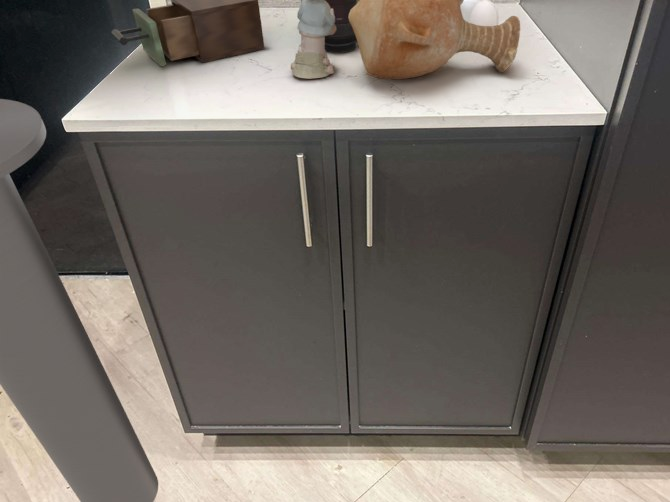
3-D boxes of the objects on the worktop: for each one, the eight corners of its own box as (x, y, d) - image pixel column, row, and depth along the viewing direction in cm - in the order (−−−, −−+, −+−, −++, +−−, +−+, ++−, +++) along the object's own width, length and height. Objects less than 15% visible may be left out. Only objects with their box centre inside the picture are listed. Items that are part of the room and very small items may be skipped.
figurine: (332, 82, 104) (325, -41, 91) (287, 80, 105) (273, -42, 92) (341, 64, 110) (335, -53, 98) (299, 63, 111) (287, -53, 99)
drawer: (131, 72, 107) (118, 29, 102) (115, 55, 114) (103, 14, 109) (221, 52, 114) (214, 11, 109) (201, 38, 122) (193, -2, 117)
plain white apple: (476, 28, 126) (480, -12, 121) (446, 24, 128) (448, -15, 123) (485, 19, 131) (489, -19, 126) (456, 16, 133) (459, -22, 128)
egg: (462, 36, 122) (465, -2, 117) (486, 32, 123) (490, -6, 119) (476, 45, 117) (480, 5, 112) (502, 41, 119) (506, 2, 114)
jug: (341, -11, 108) (492, 0, 113) (341, 91, 109) (491, 97, 114) (356, -69, 88) (538, -53, 93) (357, 55, 89) (536, 65, 94)
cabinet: (202, 63, 113) (191, 11, 106) (181, 45, 121) (170, -4, 115) (264, 49, 118) (258, -1, 112) (240, 33, 126) (233, -14, 120)
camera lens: (319, 55, 115) (313, -27, 105) (320, 42, 121) (314, -37, 111) (359, 53, 115) (357, -29, 105) (358, 40, 121) (355, -39, 111)
